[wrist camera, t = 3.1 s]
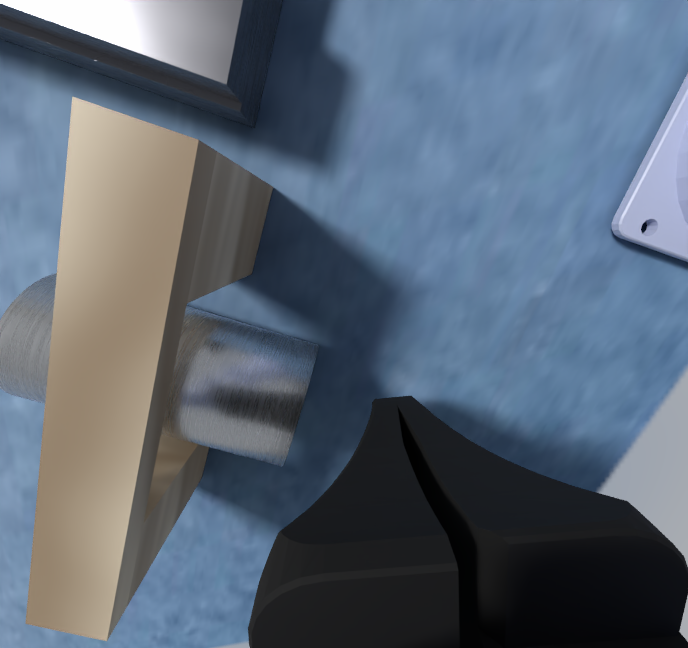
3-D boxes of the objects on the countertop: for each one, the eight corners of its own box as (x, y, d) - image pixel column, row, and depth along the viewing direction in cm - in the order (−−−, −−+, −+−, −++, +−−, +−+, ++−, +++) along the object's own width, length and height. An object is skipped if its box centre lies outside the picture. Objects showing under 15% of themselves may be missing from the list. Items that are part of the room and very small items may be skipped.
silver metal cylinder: (324, 325, 12) (307, 394, 8) (297, 408, 14) (274, 495, 10) (100, 257, 11) (-23, 300, 8) (101, 353, 13) (0, 424, 9)
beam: (273, 187, 11) (199, 139, 5) (201, 477, 14) (106, 640, 8) (213, 166, 11) (72, 96, 5) (154, 465, 14) (25, 623, 8)
